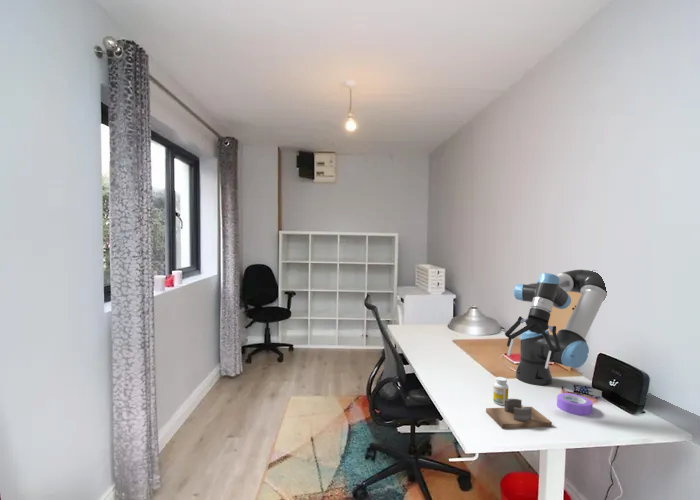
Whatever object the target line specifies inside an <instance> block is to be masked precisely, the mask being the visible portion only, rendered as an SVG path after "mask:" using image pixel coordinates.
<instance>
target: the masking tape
mask: <svg viewBox="0 0 700 500" xmlns="http://www.w3.org/2000/svg"><path fill="white" fill-rule="evenodd" d="M593 404H594V403H593V401H592V400H591V399H589V398H587V397H585V396H583V395H579V394H575V393H569V392H568V393H567V392H566V393H565V392H564V393H563V392H562V393H558V394H557V395H556V406H557V408H558V409H559V410H561V411H563V412H566V413H568V414H571V415H576V416H581V417H583V416H584V417H585V416H590V414H591V415H592V414H593V408H594V407H593V406H594V405H593Z"/></svg>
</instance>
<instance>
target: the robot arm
mask: <svg viewBox="0 0 700 500" xmlns="http://www.w3.org/2000/svg"><path fill="white" fill-rule="evenodd" d="M593 271H594V270H592V271H590V269H589V270H588V269H572V270H568V271H564V272H560V273H557V274H553V273H549V272H542V273H540V274H539V276H538V279H537V281H536V282H533V283H528V284H524V283H518V284H516V285H515V287H514V288H513V296H514V298H515V299H516V300H517V301H522V302H528V303H531V305H530V307H531V308H530V309H529V311H528V314H527V315H528V316H527V318H524V317H522V316H519V317H518V318H517V321H515V323H513V325H512V326H511V327H509V328H508V330H507V331H505V332H504V335H505V337H507V343H506V347H508V351H507V354H506V356H508V357H511V353H512V350H513V347H514V343H515V340H514V339H515V338H517V337H519V336H520V340H519V341H520V346H519V349H520V351H519V352H520V354H519V355H520V357H519V363H518V365H517V368H516V369H515V370H516V371H515V378H516V379H518V380H519V381H521V382H524V383H527V384H531V385H537V386H538V385H539V386H547V385H550V384H552V383H553V375H552V373H551V370H550V366H549V363H550V362H551V363H554V364H559V365H562V366H564V367H568V368H569V367H570V368H573V369H574V368H575V369H576V368H581V367H582V366H584V365H585V363H586V362H587V359H588V357H589V351H590V350H589V345H588V343H587V339H586V337H587V334H588V333H589V331H590V329H591V327H592V324H593V322H594V320H595V318H596V317H597V315H598V312H599V310H600V308H601V306H602V304H603V303H602V302H603V301H604V300H605V298H606V296H607V291H606V287H605V283H604V281H603V279H602V277H601V276H600V275H599V274H598V273H596V272H593ZM569 292H570V293H578V294H579V293H580V294H581V296H579V297H580V298H579V299H578V301H577V303H576V306H575V307H574V309H573V310H572V313H571V314H570V317H569V319H568V320H567V323H566V324H565V326H564V328H563V329H559V330H558V331H557V326H556V325H549V323H550V318H551V313H552V311H553V307H554V308H556V309H558V310H563V309H564V310H565V309H567V308H568V307H570V305H571V304H572V303H571V302H572V298H571V296H570V295H569ZM523 323H525V326H523V327H522V328H520V329H519V330H517V331H516V332H514V331H515V330H516V329H517V328H518V327H519V326H520V325H521V324H523ZM548 329H549V330H548ZM513 332H514V333H513ZM550 332H551V333H552V334H550Z"/></svg>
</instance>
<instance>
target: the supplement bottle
mask: <svg viewBox="0 0 700 500" xmlns="http://www.w3.org/2000/svg"><path fill="white" fill-rule="evenodd" d="M507 382H508V380H507V378H506V377H503V376H497V377H495V382H494V384H493V403H495V405H500V406H505V400H506V399H509V385H508V383H507Z"/></svg>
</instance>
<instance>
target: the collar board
mask: <svg viewBox="0 0 700 500" xmlns="http://www.w3.org/2000/svg"><path fill="white" fill-rule="evenodd" d="M522 401H523V400H522V399H519V398H508V399H506V400H505V405H504V407H486V408H485V413H486V414H487V415H488V416H489V417H490V418H491V419H492V420H493V421H494V422H495V423H496V424H497V425H498V426H499V427H500V428H501V429H519V428H520V429H521V428H525V429H526V428H545V427H546V428H548V427H551V428H552V427H553V422H552V421H551V420H550V419H549V418H547V417H546V416H544V414H542V413H540V412H539V411H538V410H537V409H535V408H534V407H533V406H522Z"/></svg>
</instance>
